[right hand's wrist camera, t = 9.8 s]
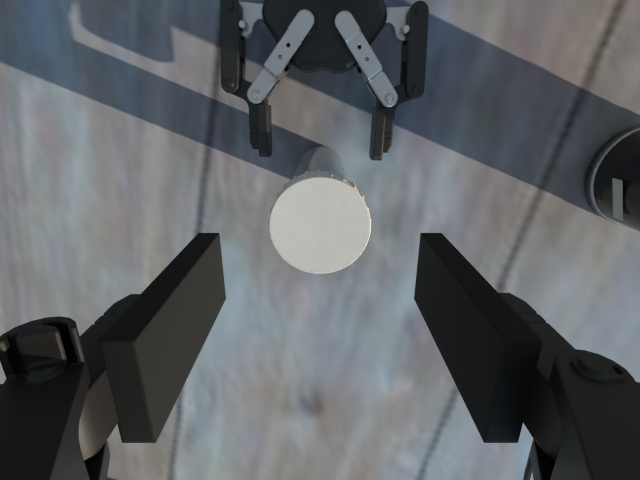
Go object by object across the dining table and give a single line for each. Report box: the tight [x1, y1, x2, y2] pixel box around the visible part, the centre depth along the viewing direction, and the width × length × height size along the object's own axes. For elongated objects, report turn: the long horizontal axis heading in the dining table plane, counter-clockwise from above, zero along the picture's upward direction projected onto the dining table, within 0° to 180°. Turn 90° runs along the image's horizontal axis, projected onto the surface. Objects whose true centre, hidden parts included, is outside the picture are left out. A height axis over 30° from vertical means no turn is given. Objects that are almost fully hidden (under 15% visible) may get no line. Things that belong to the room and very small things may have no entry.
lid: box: [269, 169, 371, 274], centre depth 19 cm, size 5×5×2 cm
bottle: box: [293, 146, 347, 179], centre depth 27 cm, size 4×4×18 cm
